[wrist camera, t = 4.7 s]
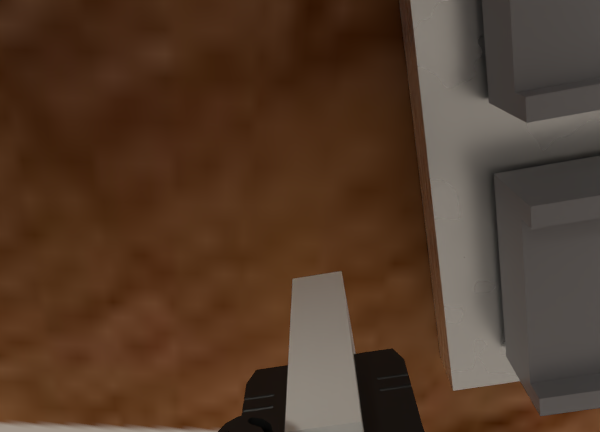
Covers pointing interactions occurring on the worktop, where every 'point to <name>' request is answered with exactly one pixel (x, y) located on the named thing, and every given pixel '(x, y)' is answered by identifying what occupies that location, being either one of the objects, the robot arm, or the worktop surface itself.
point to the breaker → (542, 57)
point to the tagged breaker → (552, 281)
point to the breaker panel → (471, 178)
